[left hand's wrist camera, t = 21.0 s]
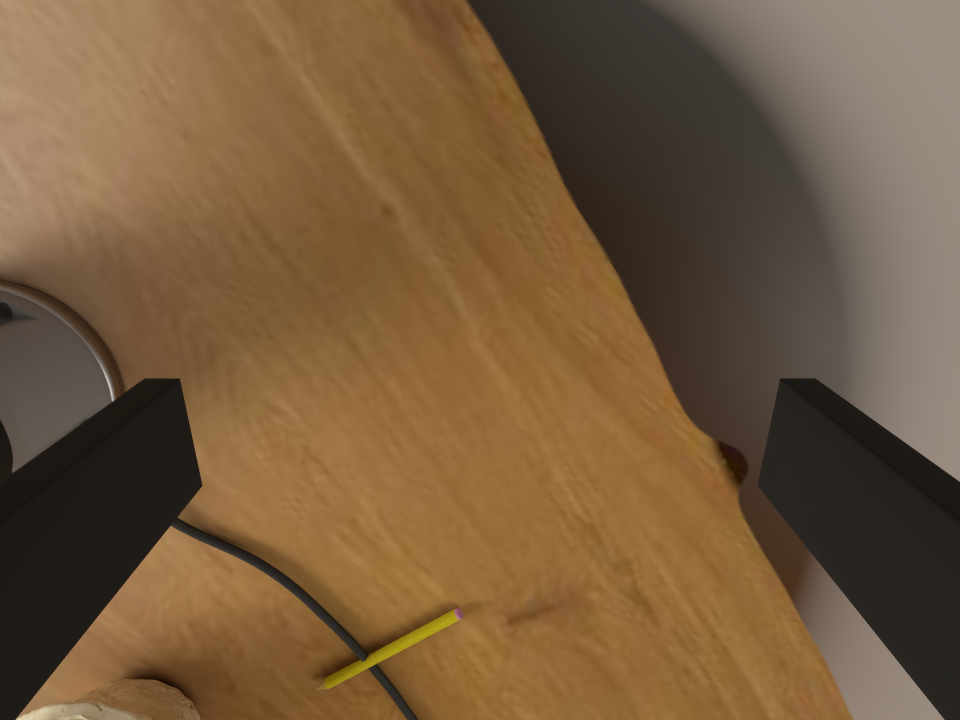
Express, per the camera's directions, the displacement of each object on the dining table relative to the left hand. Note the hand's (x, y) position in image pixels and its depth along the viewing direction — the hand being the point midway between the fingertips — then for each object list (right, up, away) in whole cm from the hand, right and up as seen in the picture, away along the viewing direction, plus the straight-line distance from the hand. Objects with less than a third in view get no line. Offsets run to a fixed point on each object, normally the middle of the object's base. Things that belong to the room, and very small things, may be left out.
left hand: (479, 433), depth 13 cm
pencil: (-9, -25, +39) cm, 47 cm away
